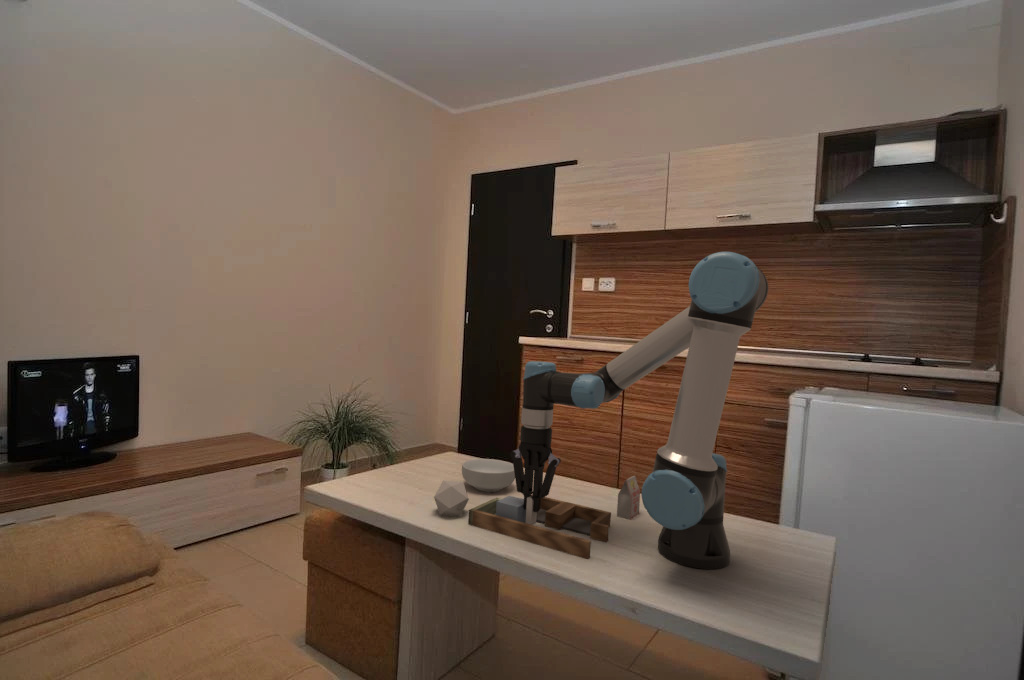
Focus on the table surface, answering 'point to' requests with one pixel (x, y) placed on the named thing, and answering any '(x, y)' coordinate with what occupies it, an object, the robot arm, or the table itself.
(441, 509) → the die
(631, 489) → the gable top carton
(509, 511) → the slate block
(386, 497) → the table surface
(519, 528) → the wooden compartment tray
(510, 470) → the cereal bowl
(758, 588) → the table surface
